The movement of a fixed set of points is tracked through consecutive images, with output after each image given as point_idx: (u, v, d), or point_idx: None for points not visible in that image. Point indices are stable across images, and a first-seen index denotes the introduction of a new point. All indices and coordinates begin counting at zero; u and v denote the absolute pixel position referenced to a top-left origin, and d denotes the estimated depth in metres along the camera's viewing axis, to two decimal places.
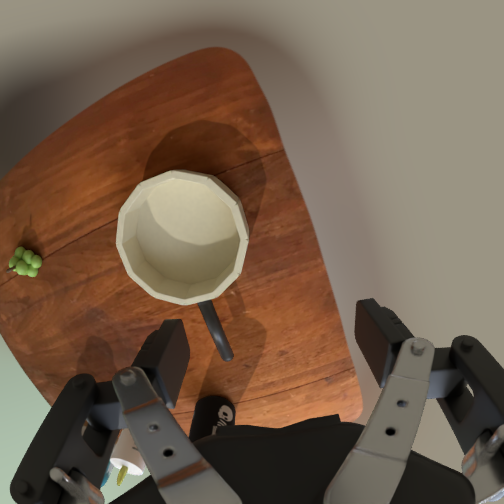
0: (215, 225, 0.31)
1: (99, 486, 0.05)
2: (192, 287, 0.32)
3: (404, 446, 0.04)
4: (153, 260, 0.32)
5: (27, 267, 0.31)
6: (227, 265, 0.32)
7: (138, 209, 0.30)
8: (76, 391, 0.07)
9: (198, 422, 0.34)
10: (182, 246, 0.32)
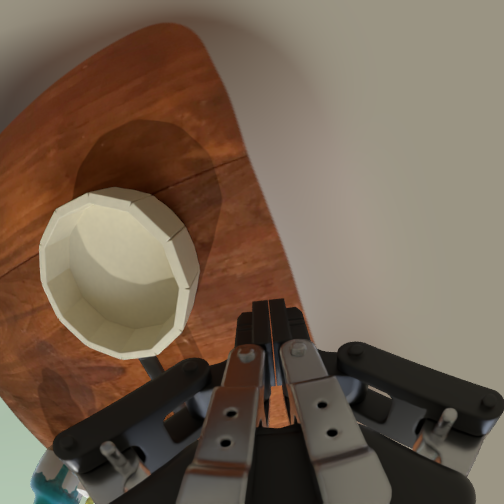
0: (156, 260, 0.23)
1: (157, 467, 0.06)
2: (134, 334, 0.24)
3: (356, 437, 0.04)
4: (90, 298, 0.24)
5: None
6: (174, 310, 0.24)
7: (68, 237, 0.22)
8: (182, 376, 0.08)
9: None
10: (119, 284, 0.23)
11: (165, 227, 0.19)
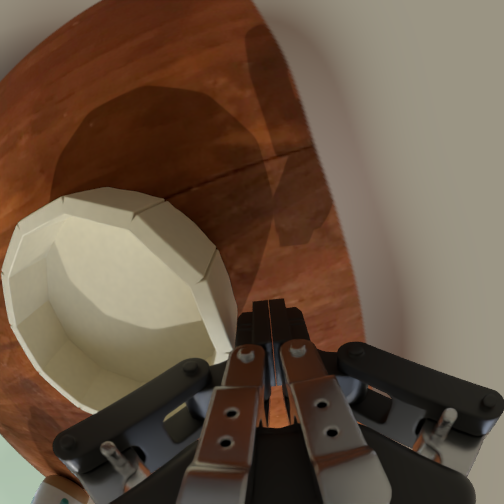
0: (171, 297, 0.15)
1: (157, 467, 0.06)
2: None
3: (356, 437, 0.04)
4: (79, 341, 0.17)
5: None
6: None
7: (43, 259, 0.14)
8: (182, 376, 0.08)
9: None
10: (117, 327, 0.16)
11: (193, 256, 0.11)
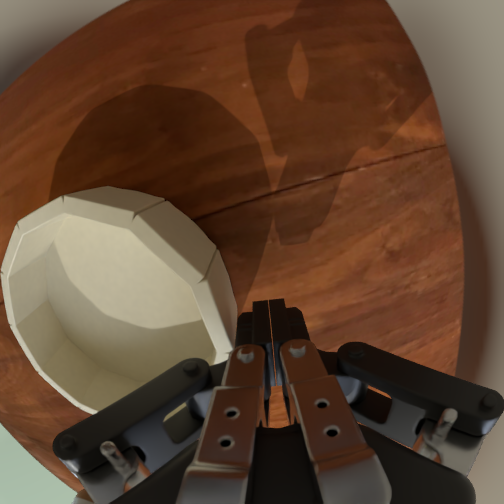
0: (171, 297, 0.15)
1: (157, 467, 0.06)
2: None
3: (355, 437, 0.04)
4: (78, 340, 0.16)
5: None
6: None
7: (43, 258, 0.14)
8: (182, 376, 0.08)
9: None
10: (117, 327, 0.16)
11: (194, 256, 0.11)
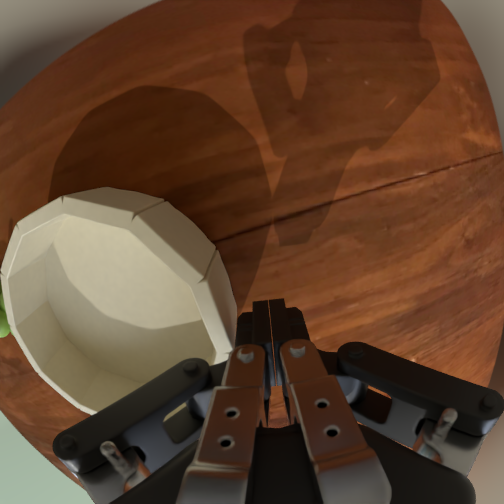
0: (170, 298, 0.15)
1: (157, 467, 0.06)
2: None
3: (355, 437, 0.04)
4: (78, 341, 0.16)
5: None
6: None
7: (42, 259, 0.14)
8: (182, 376, 0.08)
9: None
10: (116, 328, 0.16)
11: (193, 256, 0.11)
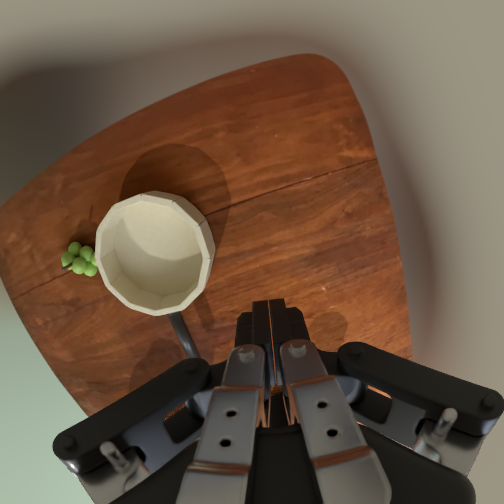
0: (184, 242, 0.33)
1: (157, 467, 0.06)
2: (164, 299, 0.34)
3: (355, 437, 0.04)
4: (130, 273, 0.34)
5: (86, 265, 0.32)
6: (195, 279, 0.34)
7: (115, 226, 0.32)
8: (182, 376, 0.08)
9: (278, 419, 0.35)
10: (154, 261, 0.34)
11: (195, 217, 0.29)
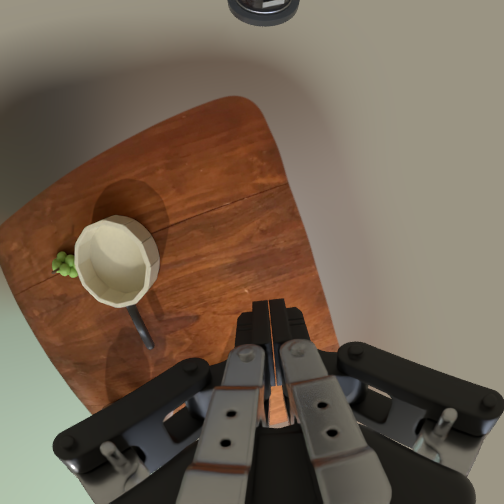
0: (137, 253, 0.42)
1: (157, 467, 0.06)
2: (125, 295, 0.43)
3: (355, 437, 0.04)
4: (101, 275, 0.43)
5: (70, 269, 0.41)
6: None
7: (89, 241, 0.41)
8: (182, 376, 0.08)
9: None
10: (118, 267, 0.43)
11: (140, 237, 0.38)
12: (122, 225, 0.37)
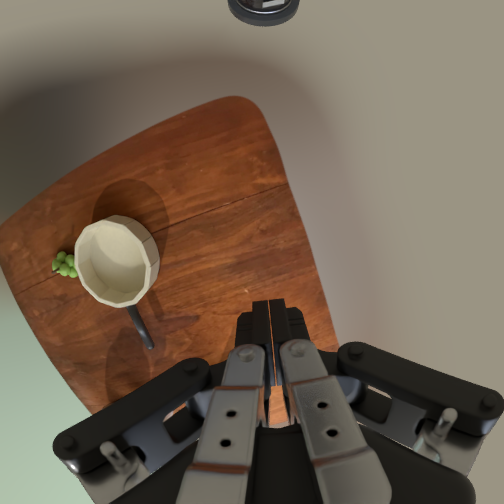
0: (137, 253, 0.42)
1: (157, 467, 0.06)
2: (125, 295, 0.43)
3: (355, 437, 0.04)
4: (101, 275, 0.43)
5: (70, 269, 0.41)
6: None
7: (89, 241, 0.41)
8: (182, 376, 0.08)
9: None
10: (118, 267, 0.43)
11: (140, 237, 0.38)
12: (122, 225, 0.37)
